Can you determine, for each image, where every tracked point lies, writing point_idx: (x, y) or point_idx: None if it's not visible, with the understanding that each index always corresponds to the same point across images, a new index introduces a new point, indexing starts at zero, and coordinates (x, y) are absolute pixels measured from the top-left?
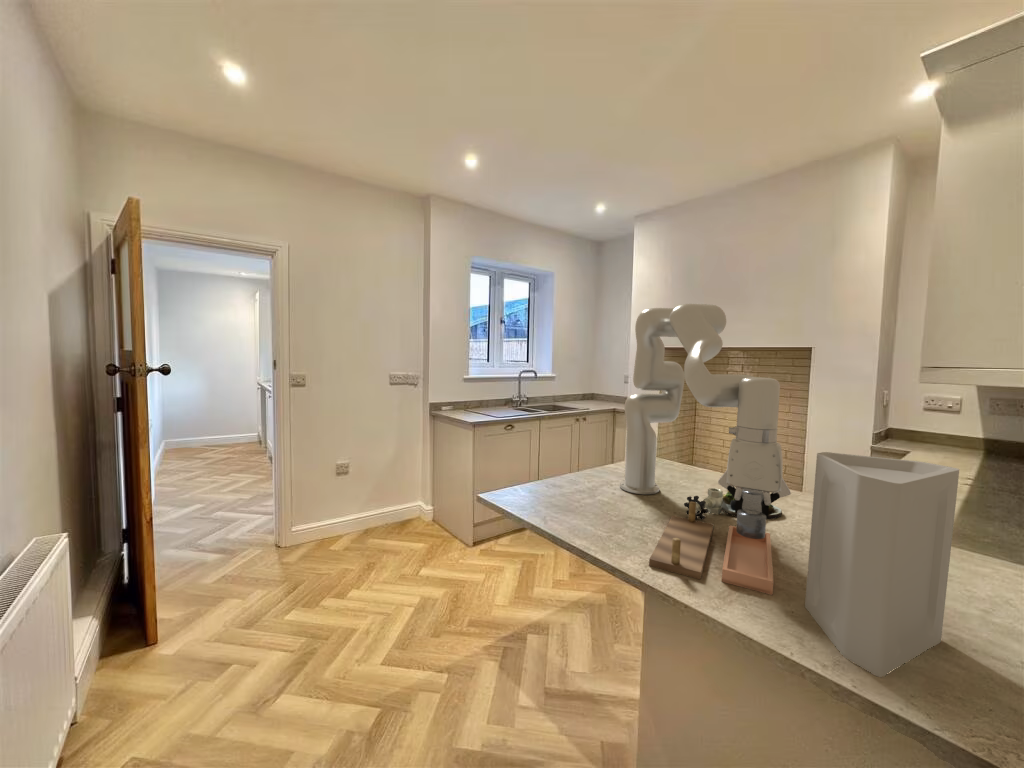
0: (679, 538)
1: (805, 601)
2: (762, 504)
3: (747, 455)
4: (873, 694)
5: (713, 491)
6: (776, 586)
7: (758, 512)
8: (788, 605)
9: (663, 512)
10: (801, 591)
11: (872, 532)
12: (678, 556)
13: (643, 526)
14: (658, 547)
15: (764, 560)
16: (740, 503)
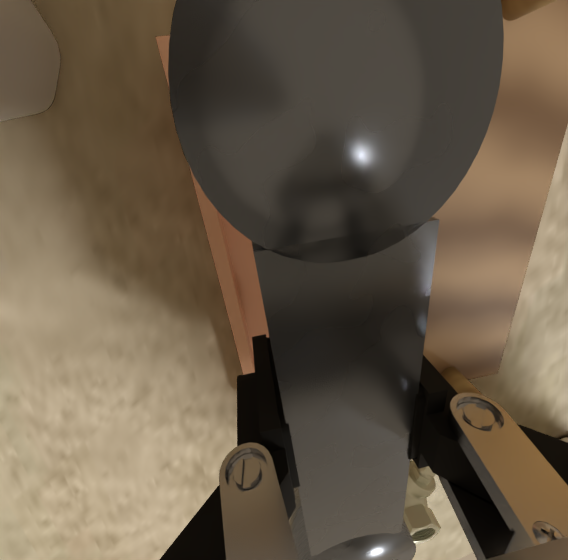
0: (487, 238)
1: (43, 34)
2: (281, 436)
3: None
4: None
5: (427, 524)
6: (177, 144)
7: (282, 226)
8: (102, 2)
9: (502, 392)
10: (106, 166)
11: None
12: None
13: (562, 280)
14: (563, 108)
15: (243, 287)
16: (426, 377)
